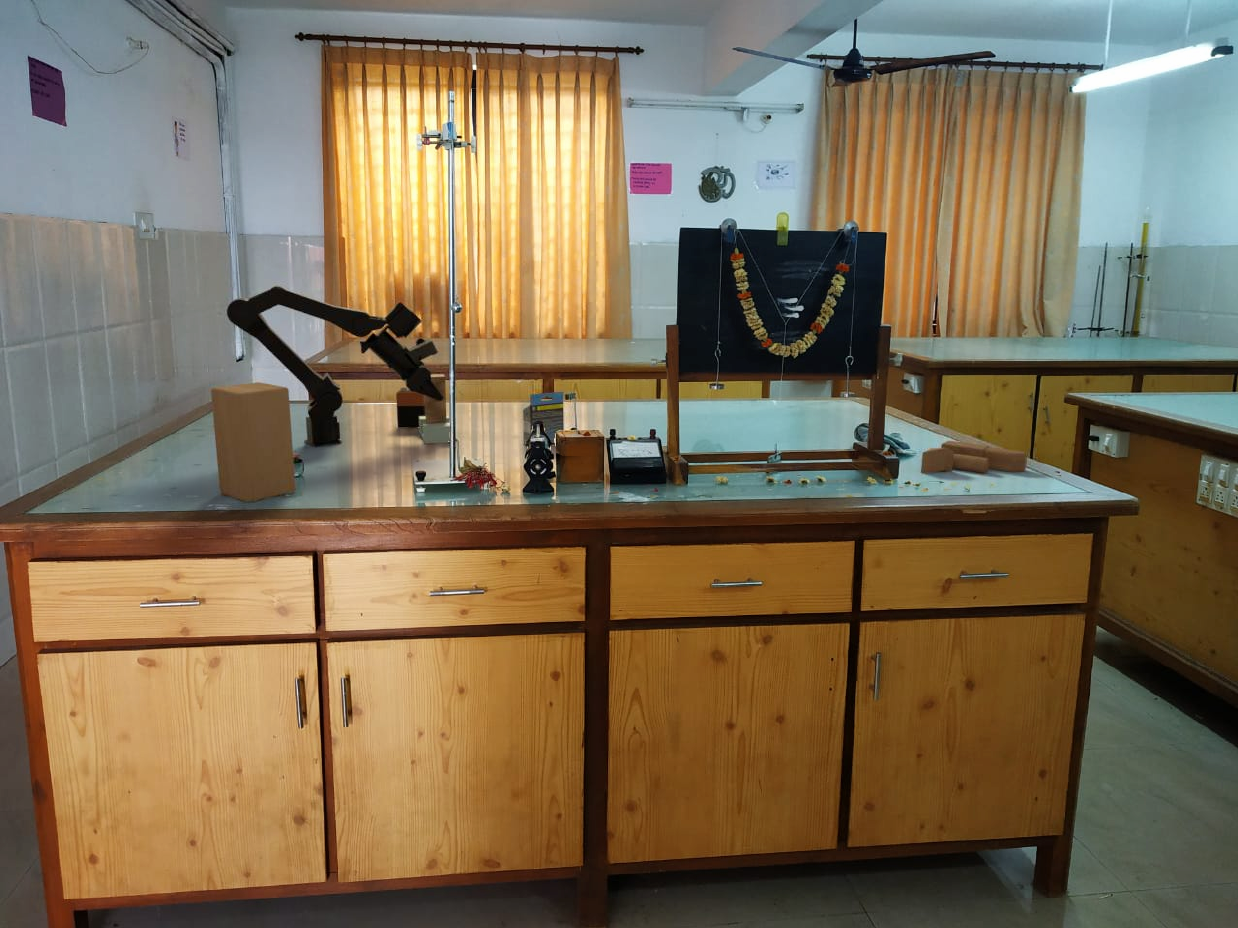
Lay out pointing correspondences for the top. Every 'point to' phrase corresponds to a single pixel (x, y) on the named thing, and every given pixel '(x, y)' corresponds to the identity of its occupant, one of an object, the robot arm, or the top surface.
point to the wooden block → (253, 440)
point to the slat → (436, 402)
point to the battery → (409, 407)
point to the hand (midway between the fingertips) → (441, 398)
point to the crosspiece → (434, 431)
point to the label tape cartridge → (544, 414)
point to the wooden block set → (972, 458)
